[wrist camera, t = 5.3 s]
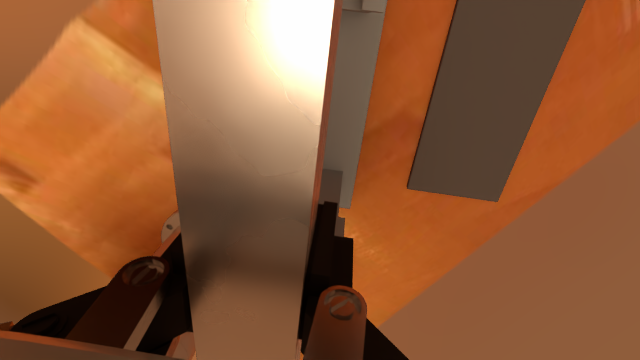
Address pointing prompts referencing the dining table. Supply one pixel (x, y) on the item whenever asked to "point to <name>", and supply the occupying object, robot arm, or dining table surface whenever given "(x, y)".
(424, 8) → the dining table surface
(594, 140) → the dining table surface
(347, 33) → the rack
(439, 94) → the mat
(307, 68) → the rail
